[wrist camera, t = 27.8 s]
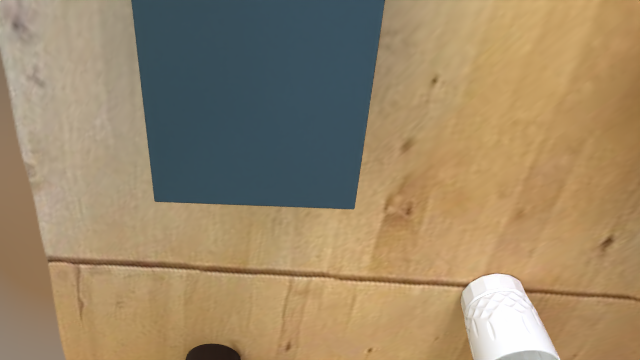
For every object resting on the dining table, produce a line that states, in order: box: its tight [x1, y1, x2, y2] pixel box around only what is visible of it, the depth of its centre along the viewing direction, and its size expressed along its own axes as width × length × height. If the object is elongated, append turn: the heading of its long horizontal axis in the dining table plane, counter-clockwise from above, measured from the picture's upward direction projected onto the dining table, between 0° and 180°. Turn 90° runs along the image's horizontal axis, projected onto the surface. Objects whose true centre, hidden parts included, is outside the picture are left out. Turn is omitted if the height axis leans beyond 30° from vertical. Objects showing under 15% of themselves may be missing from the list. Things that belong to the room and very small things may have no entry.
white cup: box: [461, 274, 561, 360], centre depth 58 cm, size 8×8×10 cm
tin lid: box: [131, 0, 385, 209], centre depth 34 cm, size 16×14×1 cm
